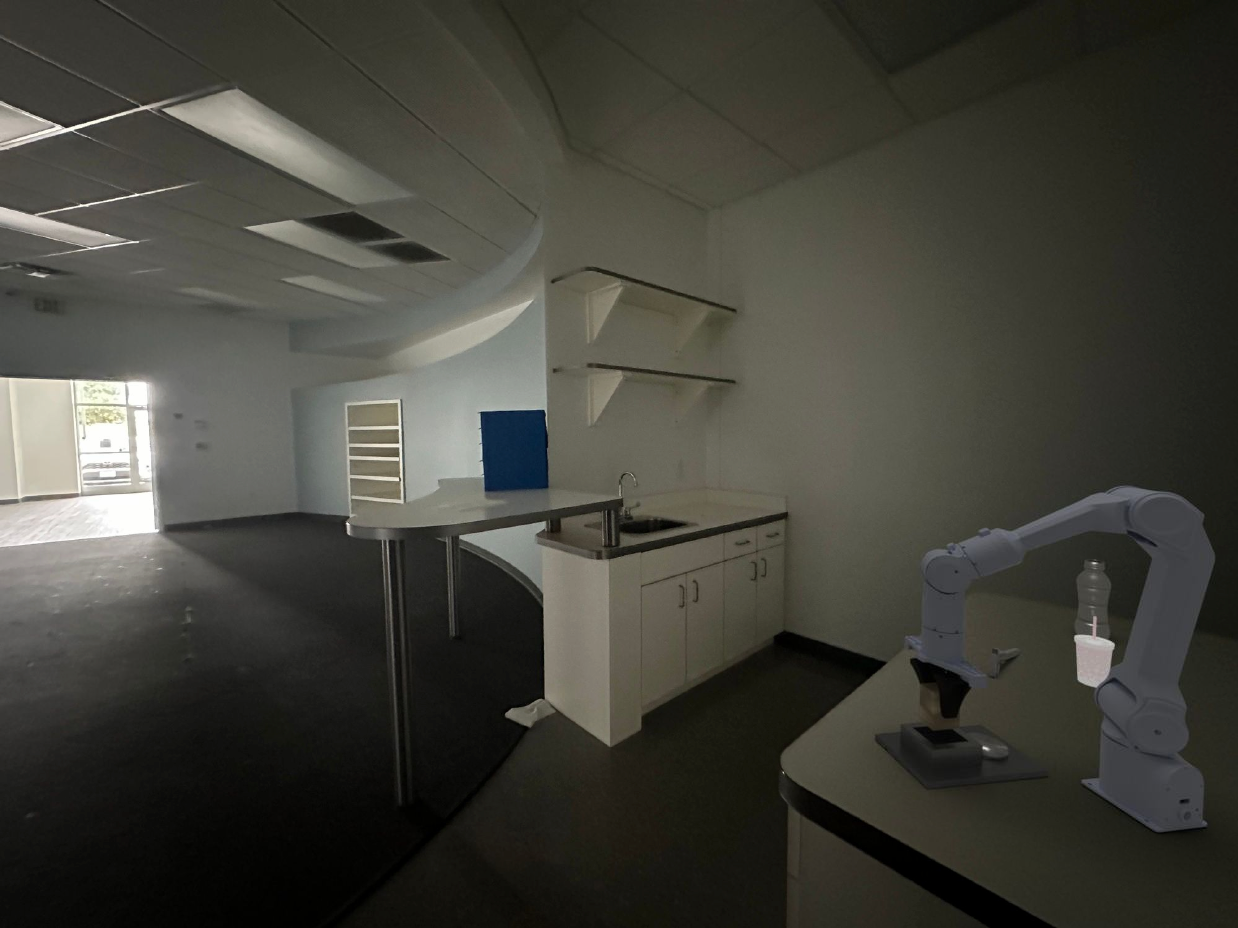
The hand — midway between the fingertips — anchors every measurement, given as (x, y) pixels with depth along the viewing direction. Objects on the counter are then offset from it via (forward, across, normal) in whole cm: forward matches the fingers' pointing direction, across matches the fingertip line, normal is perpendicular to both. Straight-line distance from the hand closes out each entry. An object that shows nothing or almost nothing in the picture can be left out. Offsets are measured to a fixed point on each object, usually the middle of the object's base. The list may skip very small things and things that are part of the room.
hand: (940, 710), depth 79 cm
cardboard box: (+2, 0, 0) cm, 2 cm away
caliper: (+8, -28, +40) cm, 50 cm away
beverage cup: (+8, -18, +50) cm, 54 cm away
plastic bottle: (+8, -37, +73) cm, 82 cm away
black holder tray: (+8, 0, +3) cm, 8 cm away
